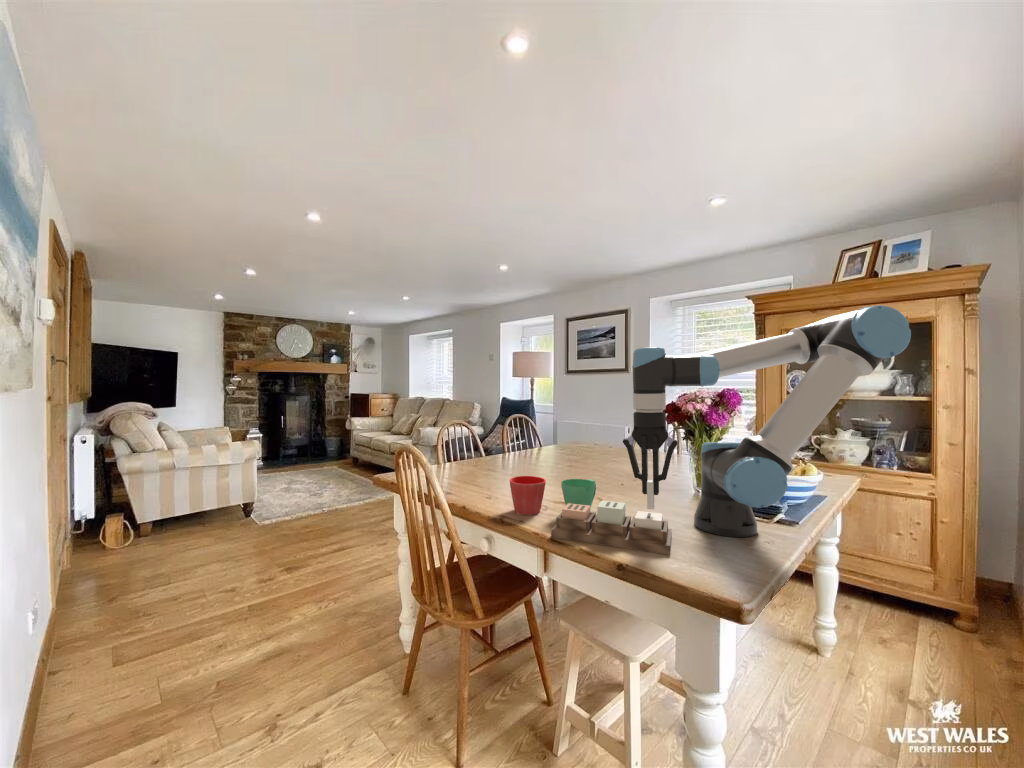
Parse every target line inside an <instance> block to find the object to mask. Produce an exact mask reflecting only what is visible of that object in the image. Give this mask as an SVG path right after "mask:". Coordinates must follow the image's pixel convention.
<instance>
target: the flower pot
mask: <svg viewBox="0 0 1024 768" xmlns="http://www.w3.org/2000/svg"><path fill="white" fill-rule="evenodd" d="M546 484H547V481H546V479H545V478H543V477H541V476H532V475H520V476H514V477H511V478H509V486H510V492H511V498H512V503H513V508H514V512H515V513H516V514H517V513H518V515H521V516H534V515H537V514H539V513H540V512H541V509H542V504H543V500H544V495H545V494H544V493H545V489H546Z"/></svg>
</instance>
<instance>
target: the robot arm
mask: <svg viewBox="0 0 1024 768" xmlns="http://www.w3.org/2000/svg"><path fill="white" fill-rule="evenodd" d="M911 336H912V331H911V328H910V323H909V320H908V318H906V317H905V316H904V314H903V313H901V311H899V310H898V309H896V308H894V307H891V306H888V305H882V304H881V305H880V304H879V305H874V306H872V305H869V306H864V307H861V308H858V309H856V310H852V311H848V312H843V313H839V314H834V315H831V316H828V317H825V318H823V319H821V320H818V321H815V322H812V323H809V324H806V325H804V326H803V325H802V326H800V327H799V326H798V327H795V328H792V329H790V330H789V331H788V333H784V334H781V335H776V336H771V337H767V338H761V339H758V340H752V341H749V342H744V343H739V344H734V345H731V346H726V347H721V348H717V349H712V350H708V351H702V352H698V353H693V354H684V355H681V354H680V355H667V354H666V349H665V348H663V347H660V346H658V347H656V346H650V347H647V346H646V347H639V348H636V349H635V350H634V351H633V354H632V355H633V356H632V388H633V389H632V391H633V393H632V403H633V405H632V407H633V410H634V412H633V430H632V431H631V434H630V436H628V437H625V438H624V439H622V443H623V445H624V446H625V448H626V451H627V454H628V457H629V461H630V465H631V469H632V472H633V476H634V478H635V479H639V480H640V481H641V488H642V490H641V492H642V494H643V495H646V506H647V507H646V509H647V510H654V509H655V496H658V495H659V493H660V482H661V481H666V480H667V477H668V472H669V468H670V464H671V460H672V456H673V454H674V453H673V452H674V450H675V449H676V447H678V443H679V442H678V440H677V439H674V438H672V437H671V436H670V435H669V432H668V431H667V413H666V412H665V410H666V408H667V407H666V404H667V403H666V401H667V399H666V395H667V393H666V387H708V386H715V385H716V384H717V383H718V381H719V378H722V377H726V376H732V375H735V374H737V375H738V374H741V373H747V372H751V371H755V370H762V369H766V368H770V367H776V366H780V365H786V364H789V363H797V364H798V365H799V364H800V365H804V364H809V363H813V364H812V365H811V367H810V368H809V369H808V370H807V371H806V373H805V374H804V376H802V378H800V380H799V381H798V383H797V384H796V385H795V387H793V389H792V390H791V391H790V392H789V394H787V396H786V398H784V400H783V401H782V402H781V404H780V405H779V406H778V407H777V409H775V411H774V413H773V414H772V415H771V416H770V417H769V418H768V420H767V421H766V422H765V423H764V424H763V426H762V427H761V428H760V430H759V431H758V432H757V433H756V434H755V435H754V436H745V437H744V438H743V439H742V441H741V442H718V441H717V442H716V441H715V442H713V441H712V442H708V441H707V442H704V443H702V445H701V449H700V450H701V451H700V470H701V471H700V498H699V501H698V504H697V507H696V510H695V513H694V516H693V520H694V521H693V524H694V526H695V527H696V528H698V529H700V530H701V531H704V532H707V533H709V534H713V535H719V536H724V537H730V538H732V537H733V538H749V537H753V536H755V535H756V534H758V522H757V520H756V517H755V514H754V513H755V512H753V509H752V508H758V509H759V508H767V507H770V506H773V505H775V504H776V503H778V502H779V501H780V500H781V499H782V498H783V497H784V496H785V494H786V492H787V490H788V486H789V485H788V477H787V476H788V475H789V474H790V473H791V471H792V470H793V468H794V467H793V464H792V457H794V455H795V454H796V453H797V452H798V451H799V449H801V447H803V444H804V443H805V442H806V441H807V440H808V438H809V437H810V435H812V433H813V432H814V431H815V430H816V429H817V428H818V426H819V425H820V424H821V422H822V421H823V420H824V419H825V418H826V417H827V415H828V414H829V413H830V411H831V410H832V409H833V408H835V405H836V404H837V403H838V402H839V401H840V400H841V399H842V397H843V396H844V395H845V394H846V392H847V391H848V390H849V389H850V387H851V386H852V385H853V384H854V383H855V381H856V380H857V379H858V378H859V377H864V376H865V377H866V376H869V375H871V374H872V373H873V372H874V371H875V369H876V368H877V367H878V366H879V365H880V364H881V362H882V361H883V360H884V359H890V358H893V357H895V356H897V355H900V354H901V353H903V351H904V350H906V349H907V347H908V346H909V344H910V342H911V338H912V337H911ZM904 352H905V351H904ZM634 441H635V442H634ZM665 442H666V446H667V451H666V455H665V458H664V459H665V460H664V463H663V467H662V472H661V473H660V472H659V471H660V468H659V465H660V464H659V463H660V462H659V461H660V460H659V459H660V458H659V454H660V453H659V449H661V447H662V446H663V444H665ZM634 443H636V444H637V446H639V448H640V449H641V450H640V452H641V453H640V454H641V471H640V468H639V467H640V466H639V464H638V460H637V457H636V452H635V449H634ZM648 450H652V452H651V453H652V479H649V474H648V473H649V467H648V463H649V462H648V461H649V460H648V458H649V457H648V454H649V453H648Z"/></svg>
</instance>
